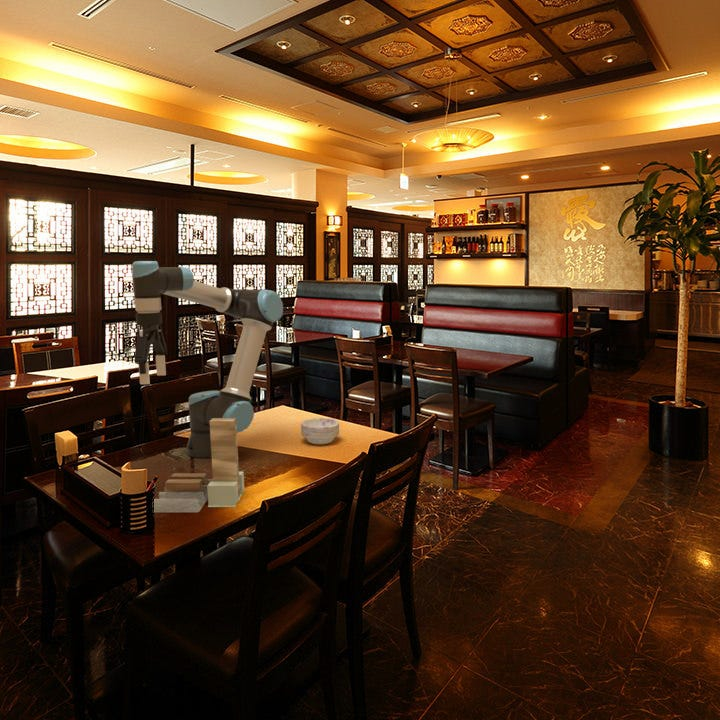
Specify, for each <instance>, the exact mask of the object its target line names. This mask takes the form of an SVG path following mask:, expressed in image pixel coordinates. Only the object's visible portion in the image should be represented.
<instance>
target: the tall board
mask: <svg viewBox="0 0 720 720" xmlns="http://www.w3.org/2000/svg"><path fill="white" fill-rule="evenodd" d="M210 438H211V456H212V457H211V469H212V479H213V482H238V498H239V496H240V488H239V472H240V470H239V469H240V468H239V453H238V452H239V451H238V450H239V449H238V433H237V427H236V418H212V419H211V420H210Z"/></svg>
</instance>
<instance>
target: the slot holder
mask: <svg viewBox="0 0 720 720" xmlns="http://www.w3.org/2000/svg"><path fill="white" fill-rule="evenodd" d="M244 473H245V472H244V471H239V488H240V496H239V498H238V482H210V483H209V484H208V486H207V488H208V499H207V502H208V503H207V504H208V506H207V507H208V508H236V506H237V505H238V503H239V502H240V499H241V497H242V495H243V494H244V492H245V490H246V489H245V476H244Z"/></svg>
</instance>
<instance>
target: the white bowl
mask: <svg viewBox="0 0 720 720" xmlns="http://www.w3.org/2000/svg"><path fill="white" fill-rule="evenodd" d="M300 433H301V434H300V435H301V436H302V437H304V438H305V439H306V441H307V442H308V443H310V444H311V445H312V444H313V445H318V446H319V445H320V446H321V445H327V444H331V443H332V442H333V441H334V440H335V439H336V437H338V436H339V435H340V422H339V421H338V420H336V419H335V418H327V417H317V418H316V417H315V418H313V417H312V418H307V419H305V420H303V421H302V422H301V424H300Z"/></svg>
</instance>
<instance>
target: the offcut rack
mask: <svg viewBox="0 0 720 720" xmlns="http://www.w3.org/2000/svg"><path fill="white" fill-rule="evenodd" d="M210 482H213V478H207V485H202V490H203V492H166V487H165V486H164V491H159V492H158V498H153V499H154V512H153V513H199V512H200V511H201V510H202V508H203V507H204V505H205V504H206V503H207V502H208V488H207V486H208V484H209V483H210Z"/></svg>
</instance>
